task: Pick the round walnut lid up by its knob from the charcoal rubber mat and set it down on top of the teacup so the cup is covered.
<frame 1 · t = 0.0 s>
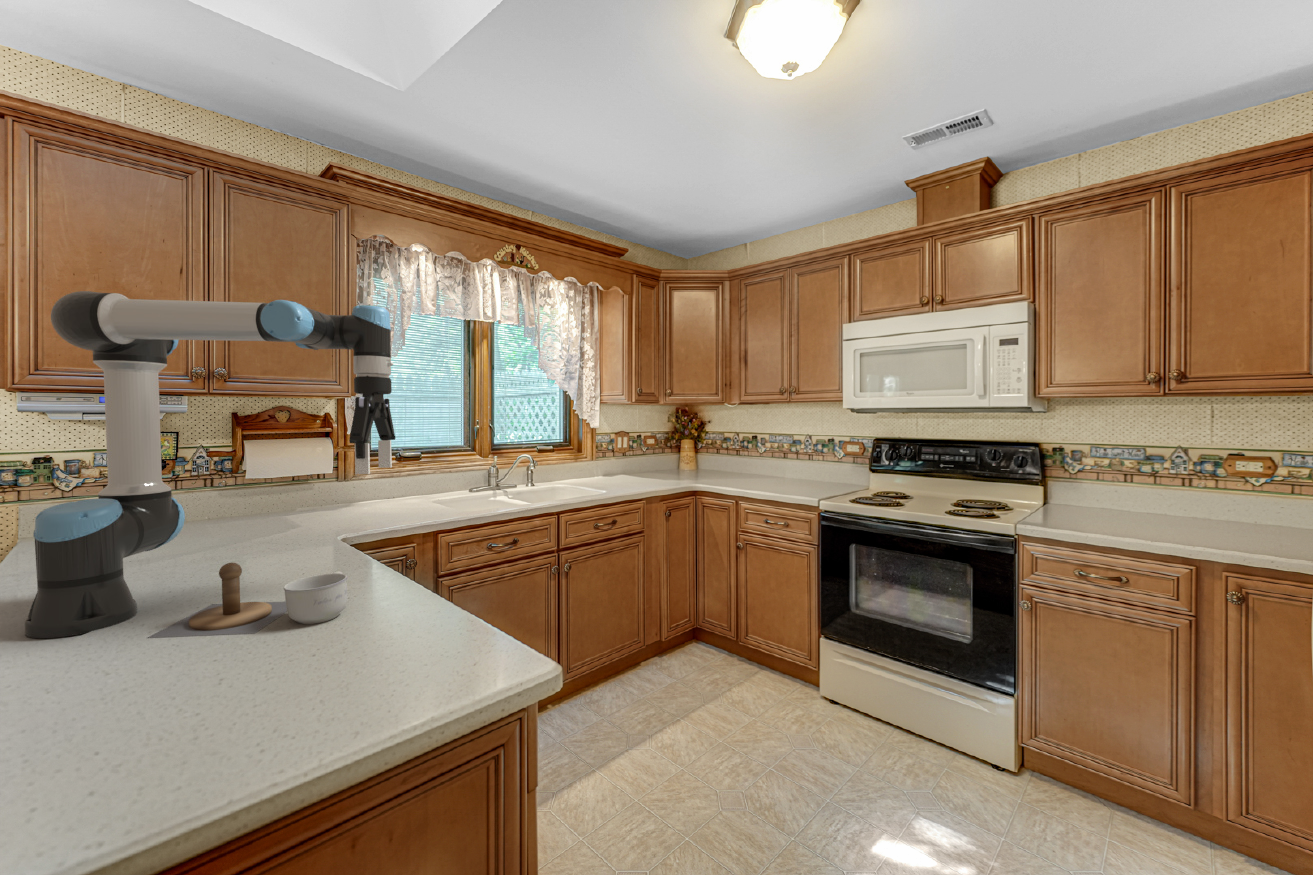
hand: (374, 470, 127), 28 cm above the counter, fingers open, 13 cm apart
mat: (231, 619, 111), on the counter
lid: (231, 617, 111), resting on mat
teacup: (323, 617, 113), on the counter
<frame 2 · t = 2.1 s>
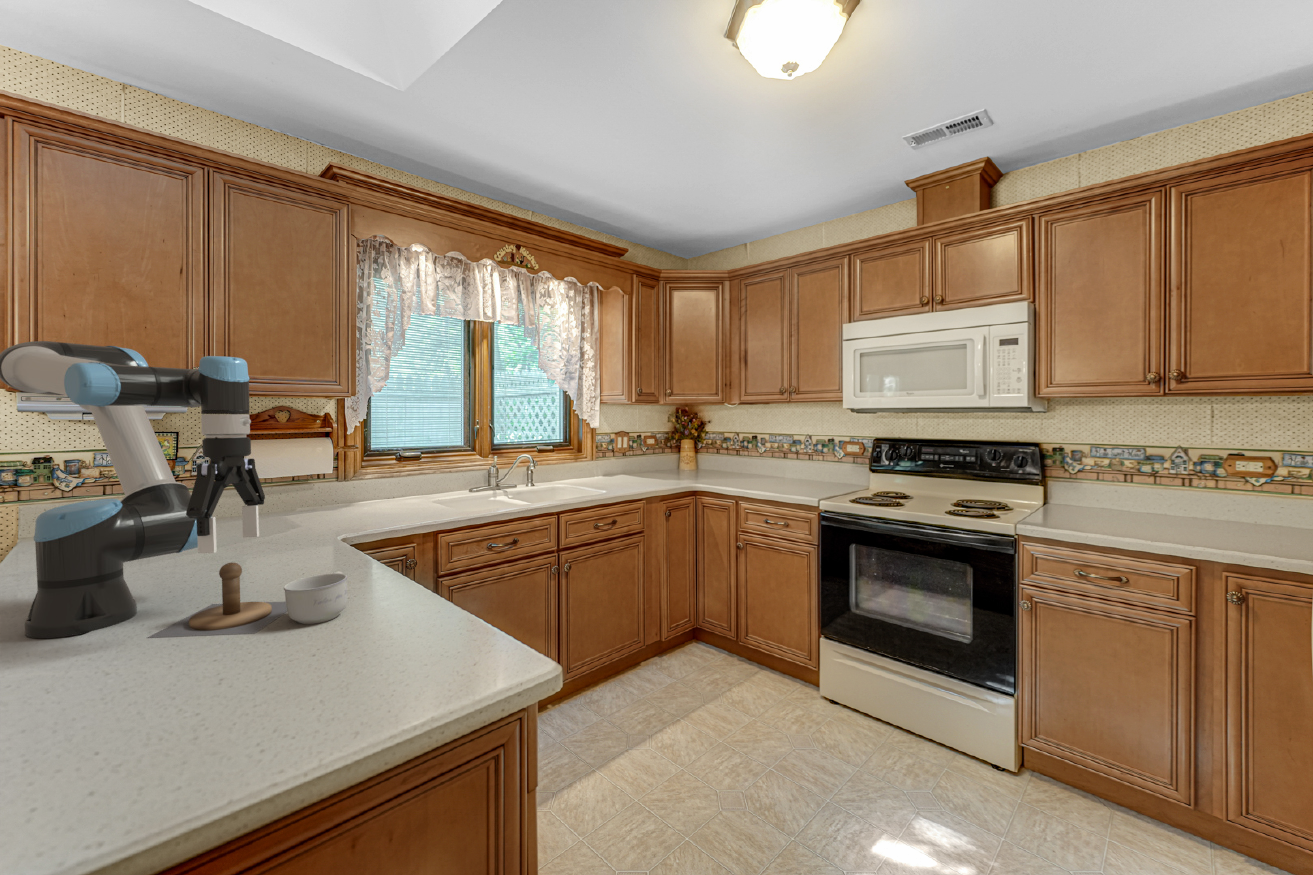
hand: (230, 544, 110), 15 cm above the counter, fingers open, 13 cm apart
nothing on the counter moved.
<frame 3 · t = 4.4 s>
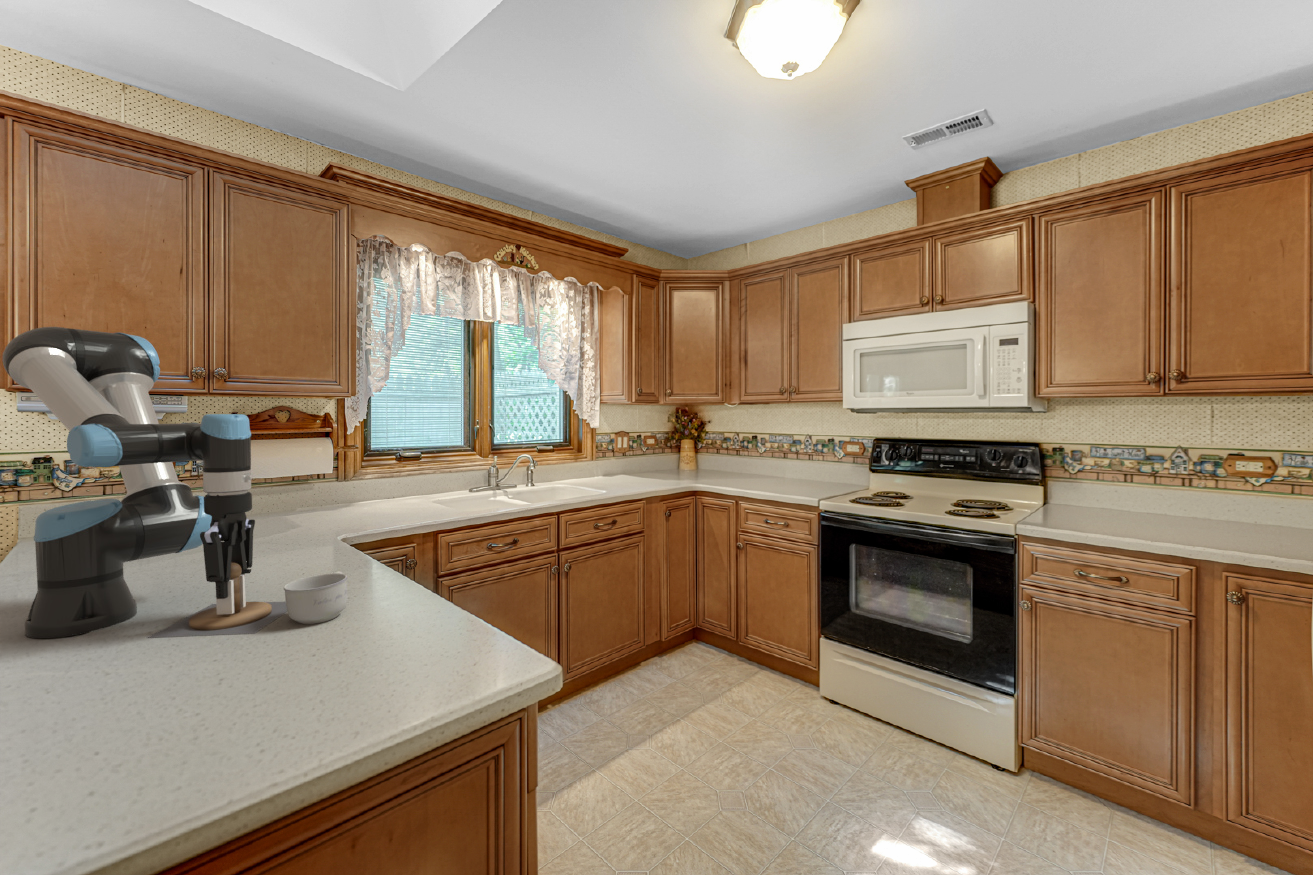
hand: (231, 610, 111), 2 cm above the counter, fingers closed on lid, 3 cm apart
lid: (231, 617, 111), resting on mat, touching gripper
everything else where it was.
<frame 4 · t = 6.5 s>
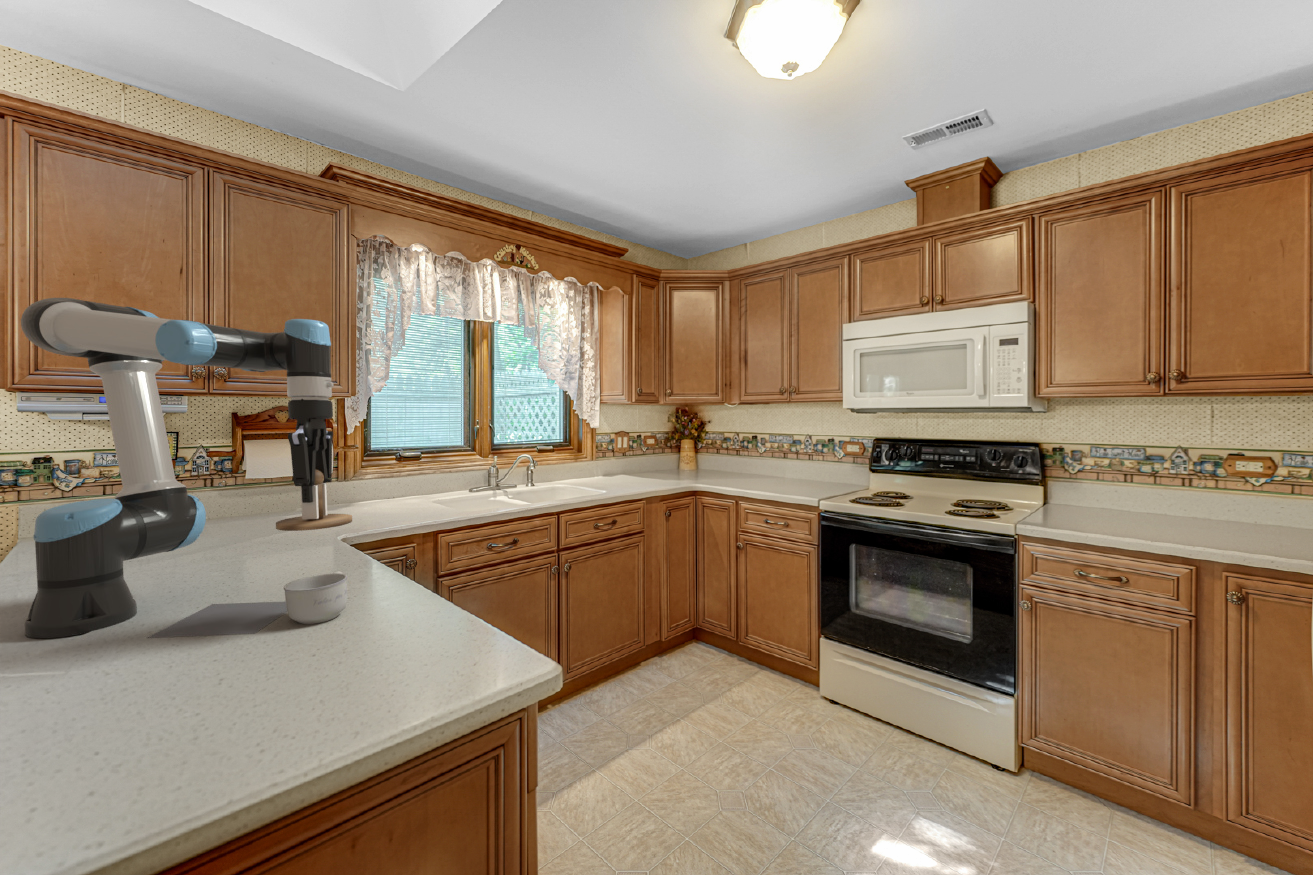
hand: (315, 516, 112), 20 cm above the counter, fingers closed on lid, 3 cm apart
lid: (315, 524, 112), point 19 cm above the counter, touching gripper
everything else where it was.
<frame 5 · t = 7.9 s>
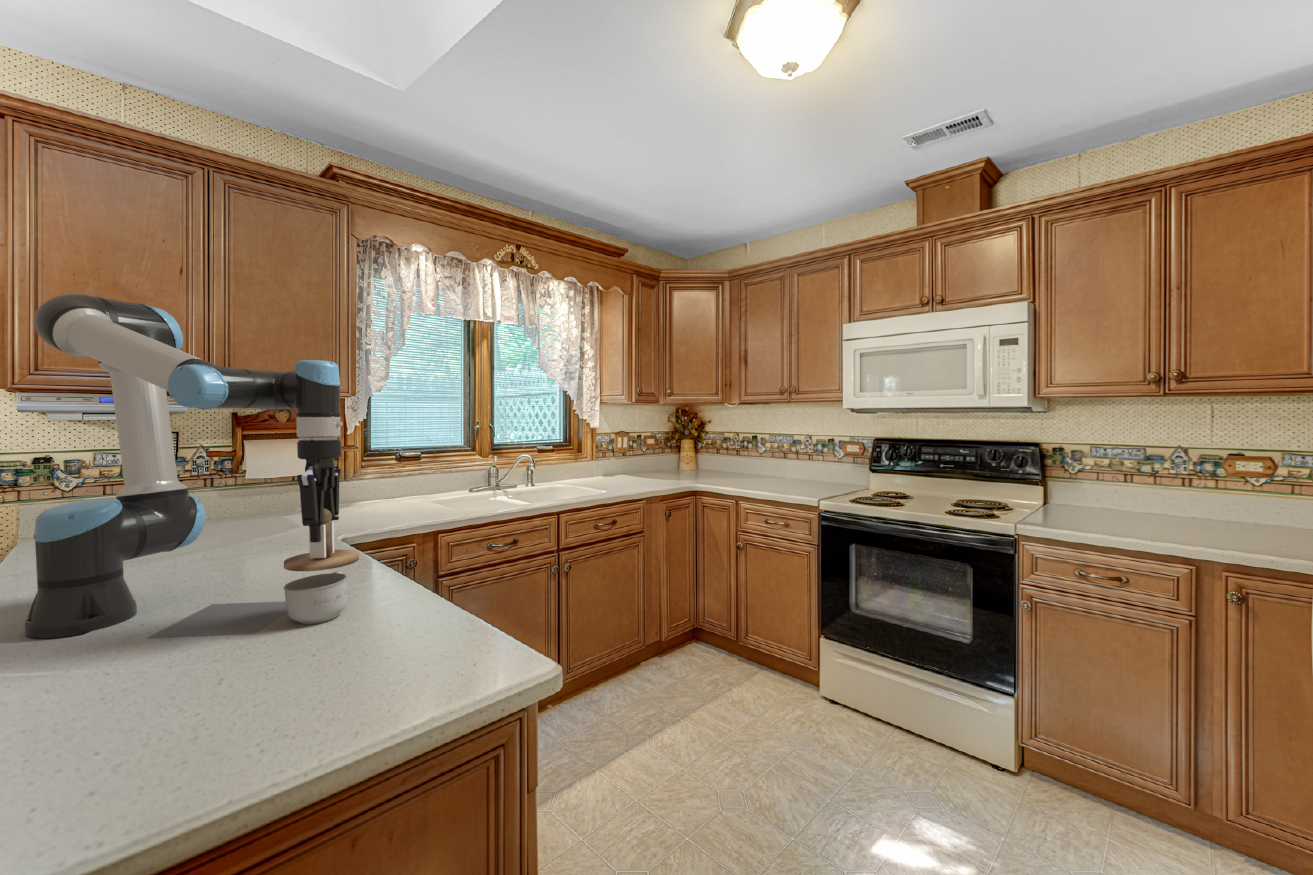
hand: (322, 555, 112), 12 cm above the counter, fingers closed on lid, 3 cm apart
lid: (322, 562, 112), point 11 cm above the counter, touching gripper
everything else where it was.
when the fingers open (12 cm above the counter, at t = 8.7 s): lid drops 2 cm, resting on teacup.
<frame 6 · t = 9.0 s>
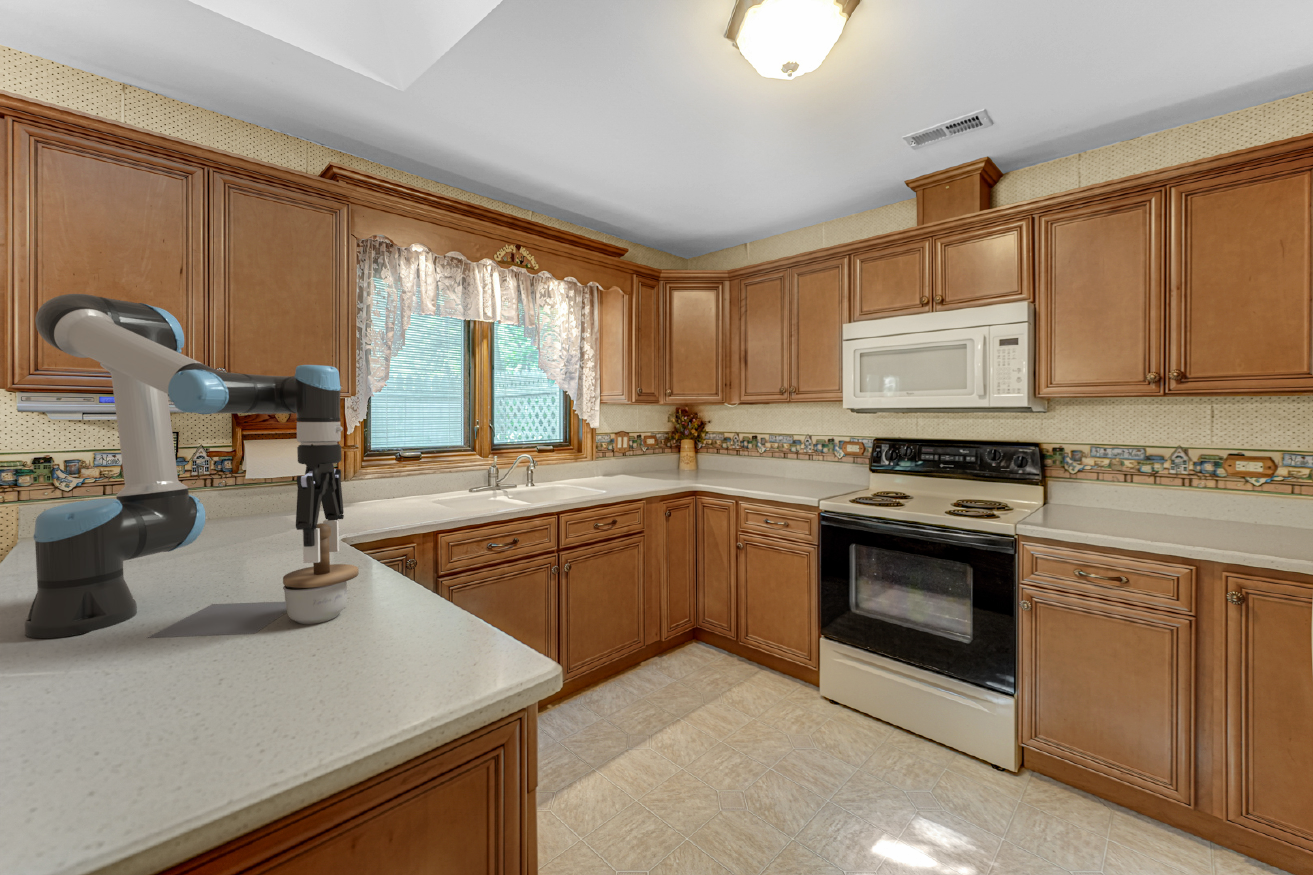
hand: (322, 556, 112), 12 cm above the counter, fingers open, 8 cm apart
lid: (321, 577, 112), point 8 cm above the counter, touching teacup
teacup: (323, 617, 113), on the counter, touching lid
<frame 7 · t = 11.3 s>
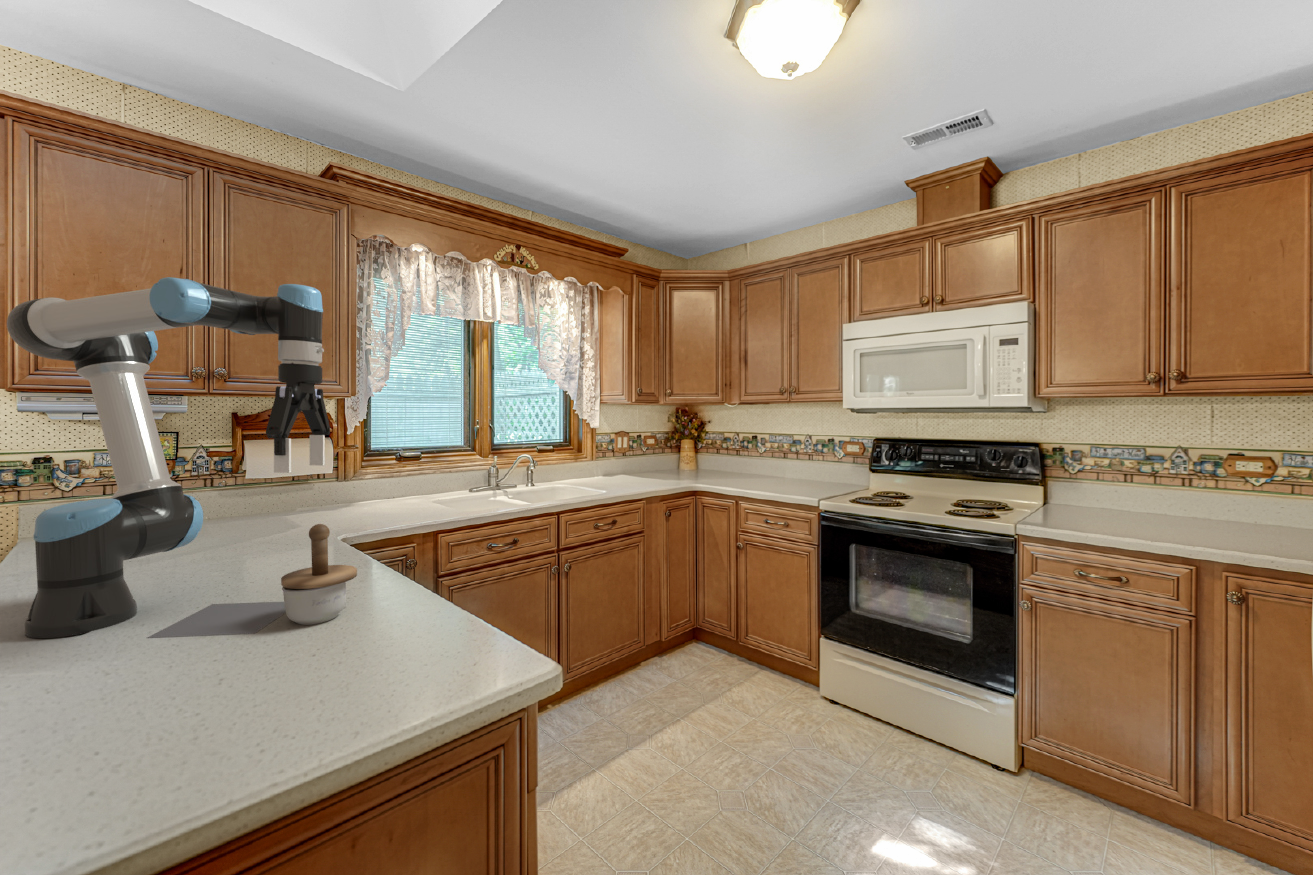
hand: (300, 468, 114), 30 cm above the counter, fingers open, 13 cm apart
nothing on the counter moved.
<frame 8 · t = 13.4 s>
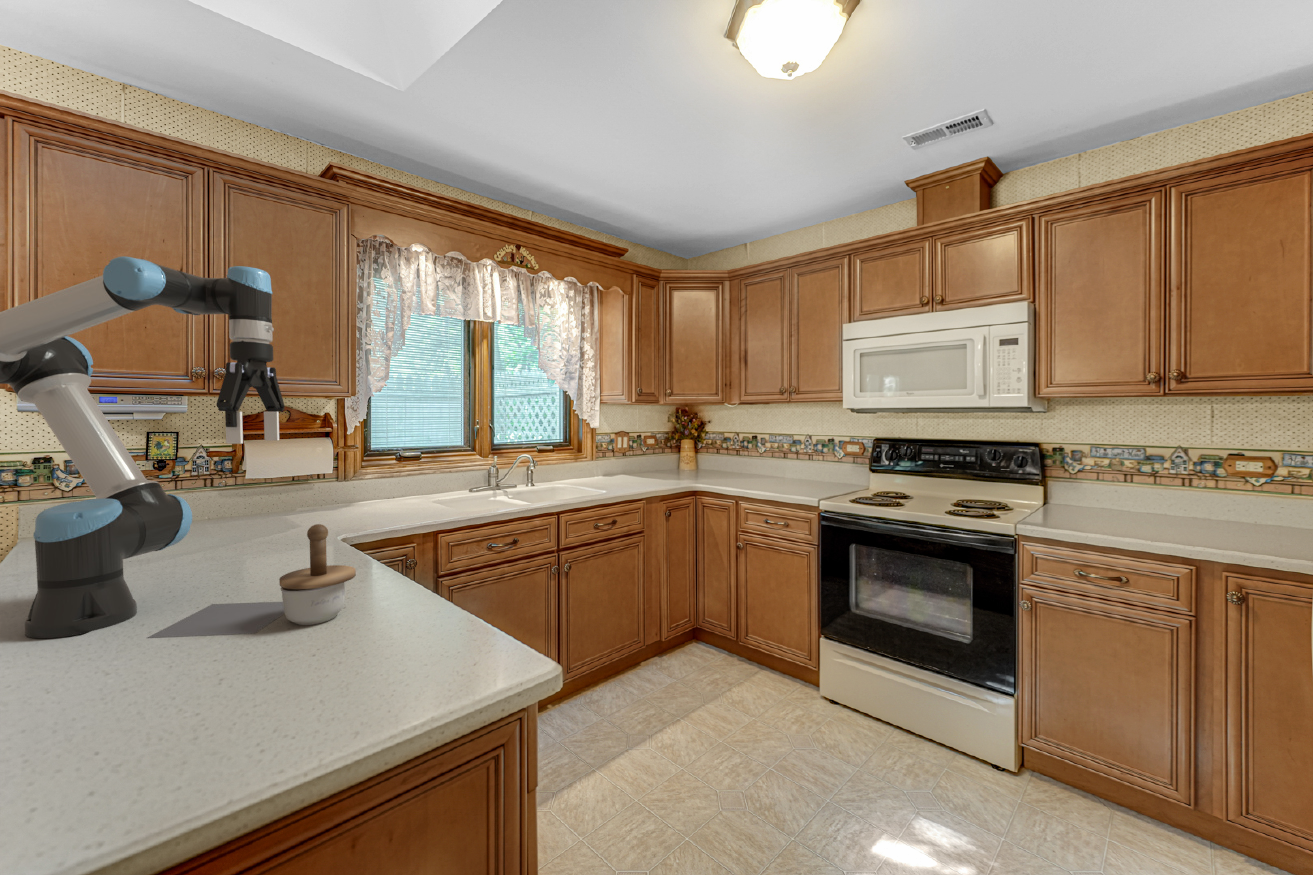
hand: (254, 442, 120), 35 cm above the counter, fingers open, 13 cm apart
nothing on the counter moved.
at the end: lid inside the target area in the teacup (0.6 cm from its centre), point 8.2 cm above the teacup's base; lid touching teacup; the gripper is holding nothing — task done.
